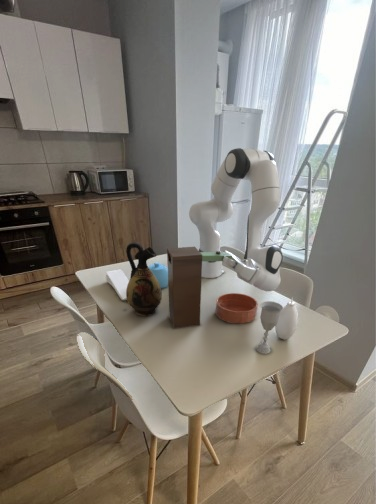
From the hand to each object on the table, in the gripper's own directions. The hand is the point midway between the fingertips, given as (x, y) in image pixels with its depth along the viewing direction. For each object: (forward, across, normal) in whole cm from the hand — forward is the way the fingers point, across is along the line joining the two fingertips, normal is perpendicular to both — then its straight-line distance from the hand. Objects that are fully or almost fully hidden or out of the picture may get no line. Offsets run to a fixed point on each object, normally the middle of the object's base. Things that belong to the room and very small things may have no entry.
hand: (220, 255), depth 110 cm
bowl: (-21, 0, +19) cm, 29 cm away
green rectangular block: (+2, 0, +2) cm, 3 cm away
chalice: (-21, +27, +19) cm, 39 cm away
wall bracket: (+19, -37, +43) cm, 60 cm away
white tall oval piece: (-31, +22, +14) cm, 40 cm away
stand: (-1, 0, +31) cm, 31 cm away
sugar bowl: (+3, -40, +33) cm, 52 cm away
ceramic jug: (+12, -13, +39) cm, 43 cm away
